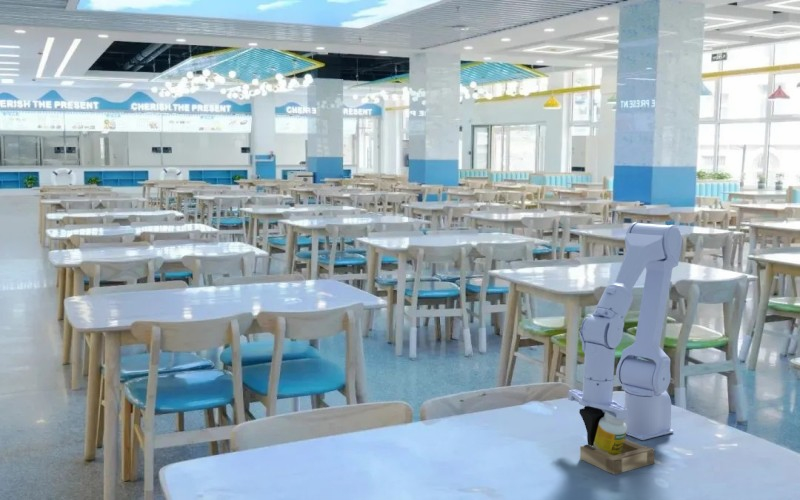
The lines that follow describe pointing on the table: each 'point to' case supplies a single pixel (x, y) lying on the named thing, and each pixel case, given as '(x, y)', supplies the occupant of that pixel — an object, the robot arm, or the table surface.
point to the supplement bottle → (610, 434)
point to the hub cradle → (619, 457)
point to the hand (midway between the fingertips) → (594, 444)
